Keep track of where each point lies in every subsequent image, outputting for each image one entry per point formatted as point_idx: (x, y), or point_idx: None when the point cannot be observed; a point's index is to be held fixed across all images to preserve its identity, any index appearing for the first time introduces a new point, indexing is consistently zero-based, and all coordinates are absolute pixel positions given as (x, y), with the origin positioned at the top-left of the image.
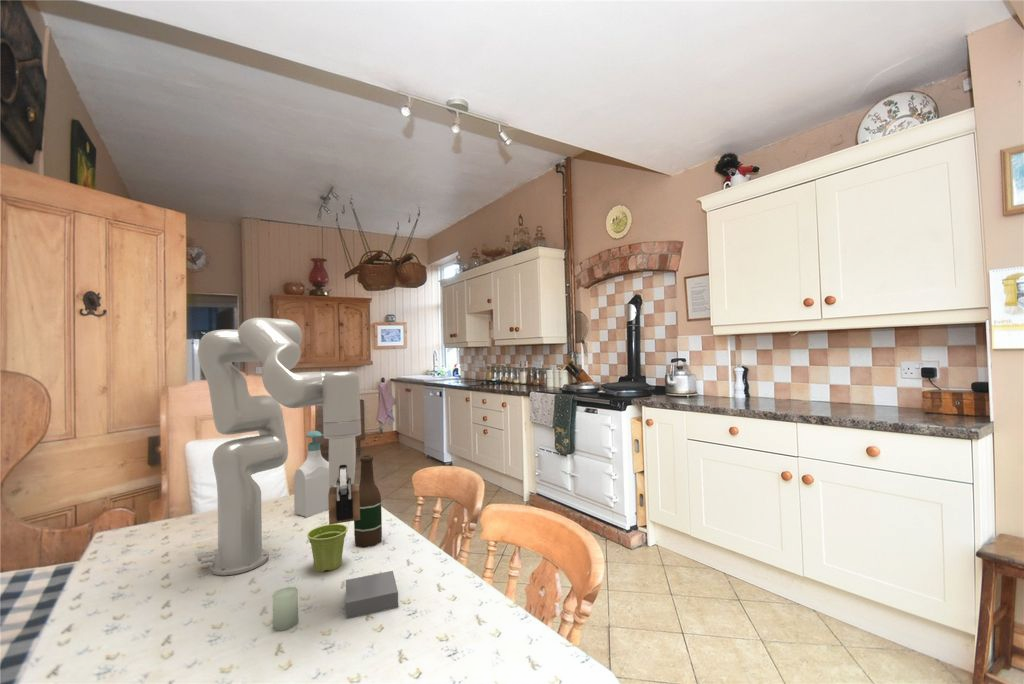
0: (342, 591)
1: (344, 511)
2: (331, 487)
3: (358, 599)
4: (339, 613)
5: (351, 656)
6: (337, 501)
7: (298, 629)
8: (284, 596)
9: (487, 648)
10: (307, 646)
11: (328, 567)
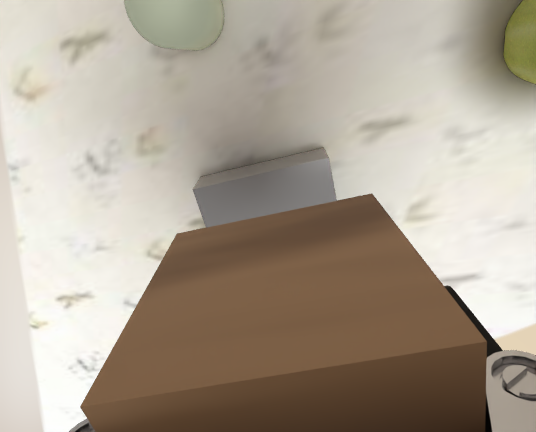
0: (341, 133)
1: None
2: (480, 362)
3: (207, 216)
4: (227, 153)
5: (67, 216)
6: (85, 422)
7: (164, 64)
8: (139, 9)
9: None
10: (95, 114)
11: (507, 48)
